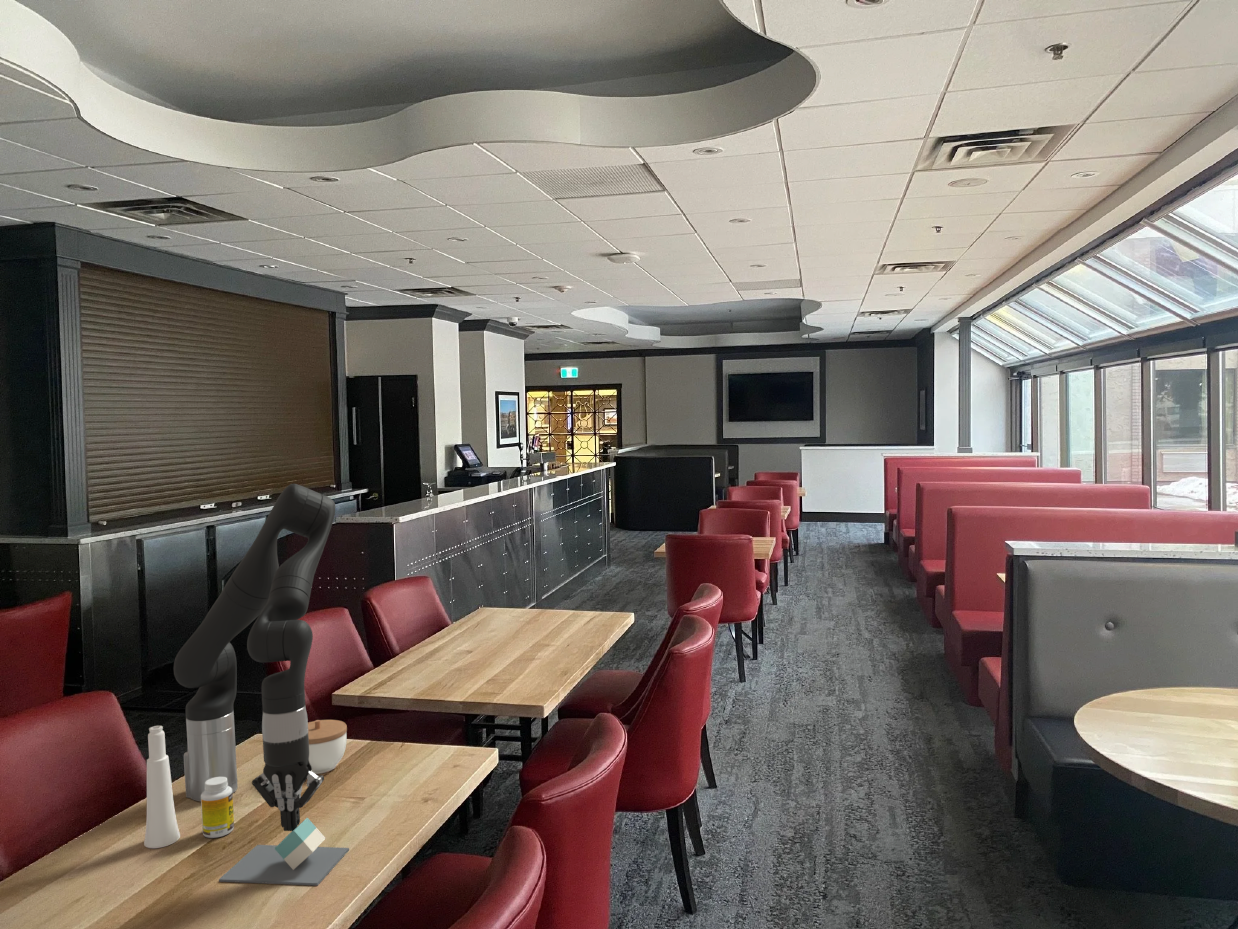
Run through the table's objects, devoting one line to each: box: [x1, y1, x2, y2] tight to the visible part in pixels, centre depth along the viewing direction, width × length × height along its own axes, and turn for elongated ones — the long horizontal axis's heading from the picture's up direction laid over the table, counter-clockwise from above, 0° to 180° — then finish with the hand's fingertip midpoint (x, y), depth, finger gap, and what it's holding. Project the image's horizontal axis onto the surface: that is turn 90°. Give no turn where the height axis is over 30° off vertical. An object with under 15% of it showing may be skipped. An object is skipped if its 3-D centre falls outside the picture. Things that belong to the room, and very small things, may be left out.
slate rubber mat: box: [218, 844, 350, 887], centre depth 150 cm, size 18×12×1 cm, turn 83°
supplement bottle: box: [200, 777, 235, 839], centre depth 163 cm, size 6×6×10 cm
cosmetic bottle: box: [143, 725, 181, 849], centre depth 160 cm, size 6×6×22 cm
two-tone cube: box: [274, 817, 326, 870], centre depth 149 cm, size 5×5×5 cm
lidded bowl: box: [308, 719, 348, 775], centre depth 193 cm, size 13×13×11 cm
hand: (290, 829), depth 149 cm, fingers closed
